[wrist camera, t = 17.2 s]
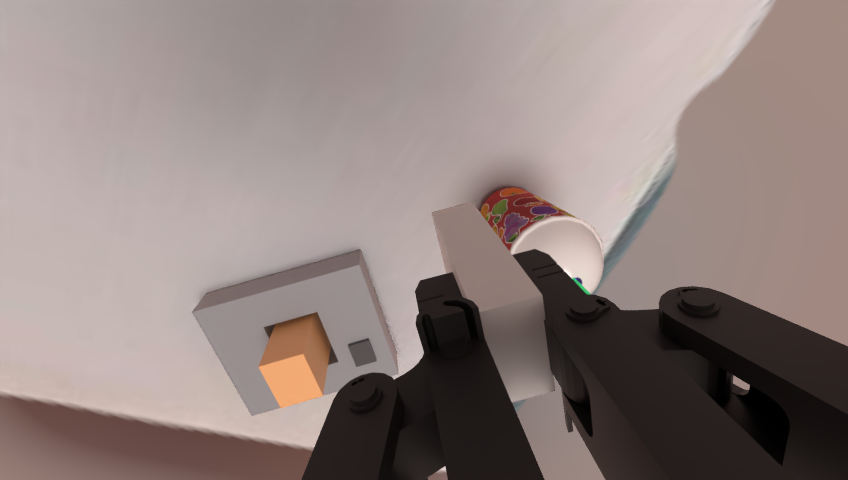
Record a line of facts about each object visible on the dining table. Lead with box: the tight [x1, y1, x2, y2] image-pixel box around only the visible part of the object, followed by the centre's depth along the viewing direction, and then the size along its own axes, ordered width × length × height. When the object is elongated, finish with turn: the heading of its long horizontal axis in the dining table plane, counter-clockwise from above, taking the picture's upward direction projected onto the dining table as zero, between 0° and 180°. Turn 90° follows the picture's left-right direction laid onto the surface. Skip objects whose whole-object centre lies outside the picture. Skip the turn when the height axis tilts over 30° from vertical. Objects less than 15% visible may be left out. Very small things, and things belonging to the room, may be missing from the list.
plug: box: [259, 312, 331, 408], centre depth 44 cm, size 5×4×10 cm
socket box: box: [192, 250, 398, 416], centre depth 46 cm, size 15×18×4 cm
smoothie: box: [480, 187, 604, 295], centre depth 37 cm, size 8×8×20 cm
